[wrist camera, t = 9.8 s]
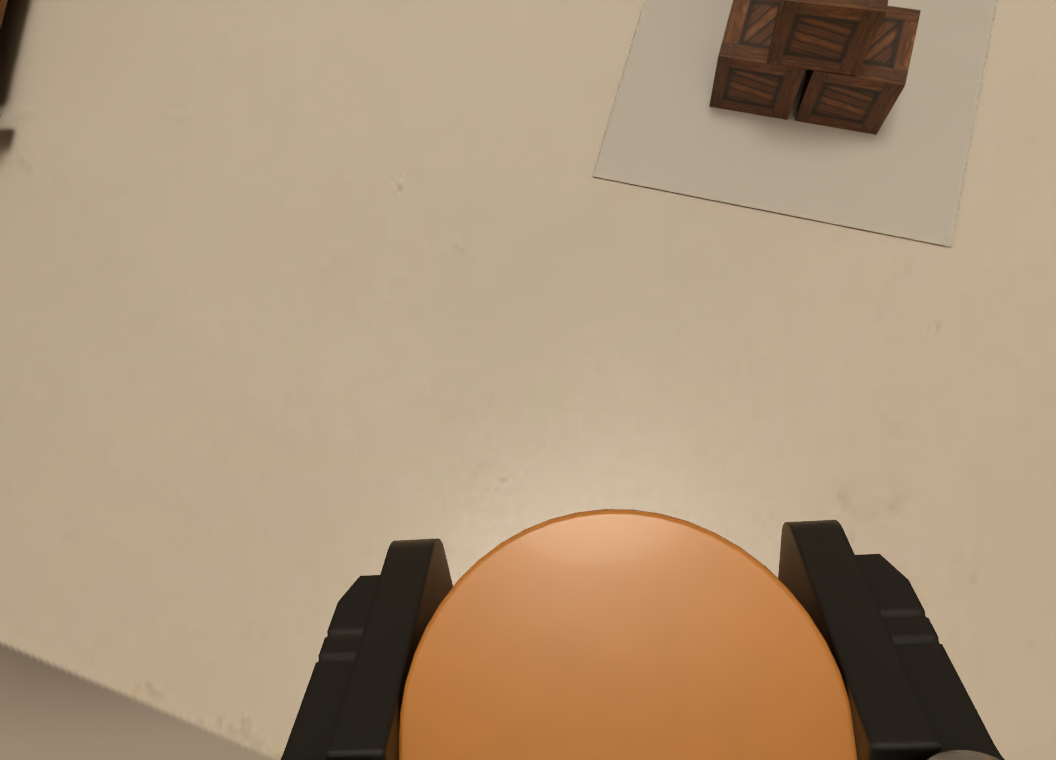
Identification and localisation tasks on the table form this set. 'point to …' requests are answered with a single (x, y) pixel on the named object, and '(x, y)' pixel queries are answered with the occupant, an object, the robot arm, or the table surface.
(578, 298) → the table surface
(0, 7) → the drawer
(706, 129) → the flat board
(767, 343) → the table surface
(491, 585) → the orange cylinder
